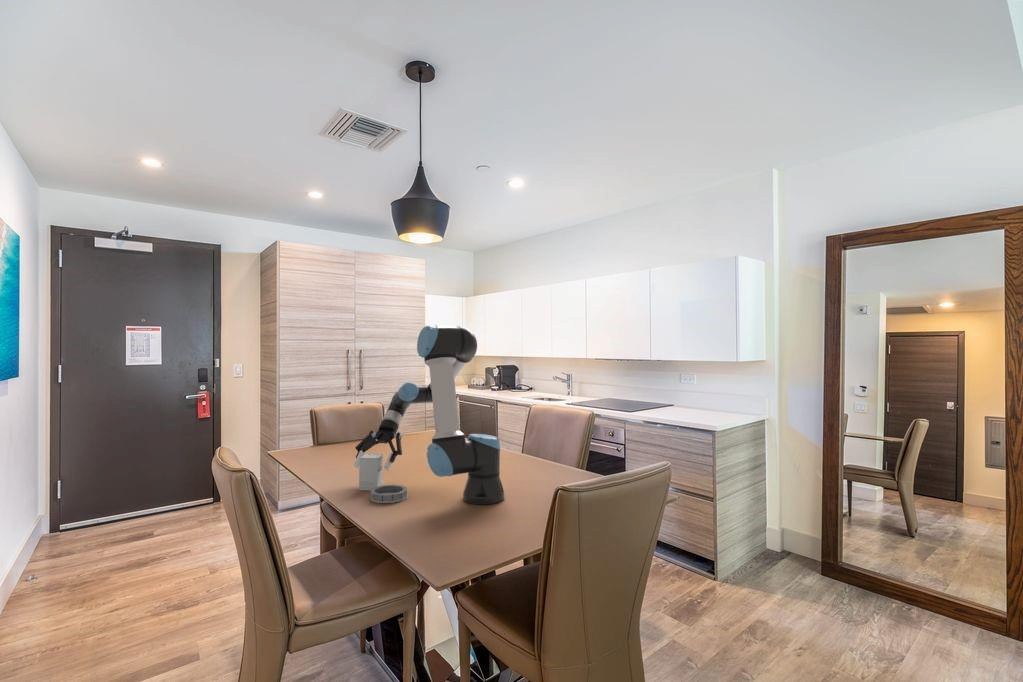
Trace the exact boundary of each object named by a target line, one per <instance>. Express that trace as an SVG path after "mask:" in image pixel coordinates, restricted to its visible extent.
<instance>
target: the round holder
mask: <svg viewBox="0 0 1023 682" xmlns="http://www.w3.org/2000/svg"><path fill="white" fill-rule="evenodd" d="M369 498H370V499H371V500H370V502H372V501H373V502H372V503H374V502H376V504H379V503H391V504H396V503H395V502H397V503H400V502H399V501H401V502H403V501H405V500H406V499H407V498H408V487H407V486H405V485H403V484H382V486H377V487H375V488H373V489H371V490H369ZM404 499H405V500H404ZM402 500H403V501H402Z"/></svg>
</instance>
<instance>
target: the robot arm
mask: <svg viewBox="0 0 1023 682" xmlns="http://www.w3.org/2000/svg"><path fill="white" fill-rule="evenodd" d="M416 349H417V350H416V351H417V354H418V356H419V357H421V358H424V364H425V365H426V366H427V367H429V369H428V370H429V377H430V382H429V384H427V385H426V384H425V385H417V384H416V383H415V382H411V381H406V382H404V383H403V384H402V385H401V386H400V387H399V388H398V391H395V392H394V395H393V396H392V397H391V401H390V403H389V405H388V408H387V410H386V412H385V414H384V415H383V418H382V420H381V423H380V424H379V426H378V430H377V431H376V432H375V431H373V430H370V431H369V433H368V435H367V436H365V438H363V440H361V441H360V442H359V444H357V445H356V446H355V447H354V448H355V450H356V451H357V453H356V454H355V460H354V463H353V466H354V467H355V468H356V469H359V458H361V457H362V456H363V455H365V452H367V451H368V450H370V449H371V448H372V447H374V446H376V445H378V444H385V445H387V444H388V445H389V448H390V449H391V452H389V455H388V457H387V459H386V462H385V465H383V469H385V471H387V472H389V470H390V468H391V466H392V463H395V460H396V457H397V456H402V454H403V451H402V450H403V449H402V437H403V436H402V434H401V432H399V431H398V429H399V428H400V426H401V422H402V420H403V418H404V416H405V413H406V412H407V409H408V408H409V407H410V405H411V404H424V403H432V409H433V420H434V429H435V432H434V435H433V437H432V438H431V443H430V444H428V446H427V451H426V458H427V459H426V460H427V464H428V466H429V468H430V470H431V472H432V473H433V474H434V475H435V476H436V477H440V478H441V477H443V478H444V477H452V476H457V475H462V474H467V480H466V482H465V487H464V489H463V493H462V499H463V501H465V502H466V503H469V504H472V505H493V504H497V503H500V502H502V501H504V499H505V490H504V486H503V483H502V480H501V477H500V472H501V471H500V470H501V469H500V468H501V466H500V464H501V460H500V459H501V457H500V456H501V445H500V444H501V443H500V439H499V438H498V437H497V436H495V435H490V434H485V433H483V434H482V433H469V434H468V436H467V439H466V435H465V433H464V432H462V431H461V430H460V428H461V427H460V420H459V410H458V409H459V408H458V400H457V391H456V385H455V384H456V382H455V379H456V377H457V376H458V374H459V373H461V370H462V369H463V367H464V366H466V364H467V363H470V362H471V361H472V360H473V359H474V357H475V355H476V353H477V350H478V341H477V337H476V335H475V334H474V333H473V331H472V330H471V329H469V328H468V327H466V326H463V325H462V326H461V325H443V324H442V325H441V324H439V325H438V324H433V325H425V326H424V327H423V328H422V329H421V330H420V331H419V334H418V337H417V344H416ZM393 439H395V443H396V448H395V446H394V444H393V441H392V440H393Z"/></svg>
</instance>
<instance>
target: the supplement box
mask: <svg viewBox="0 0 1023 682" xmlns="http://www.w3.org/2000/svg"><path fill="white" fill-rule="evenodd" d="M383 456H384V455H383V453H364V455H363V456H362V457H361V458H359V467H358V472H359V473H358V475H359V476H358V491H371V489H373V488H375V487H377V486H382V485H383V469H384V465H383V461H384V460H383Z"/></svg>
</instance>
